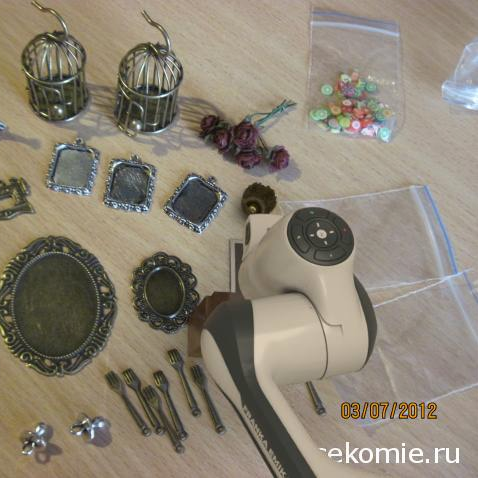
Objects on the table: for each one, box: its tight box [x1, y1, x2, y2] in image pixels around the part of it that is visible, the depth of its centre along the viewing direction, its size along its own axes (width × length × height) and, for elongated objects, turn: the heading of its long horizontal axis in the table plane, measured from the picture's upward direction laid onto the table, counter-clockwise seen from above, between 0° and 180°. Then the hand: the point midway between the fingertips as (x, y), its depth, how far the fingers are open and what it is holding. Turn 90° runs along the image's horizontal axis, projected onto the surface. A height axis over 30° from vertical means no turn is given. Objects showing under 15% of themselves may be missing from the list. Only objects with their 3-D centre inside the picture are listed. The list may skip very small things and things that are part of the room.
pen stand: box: [187, 290, 244, 359], centre depth 102 cm, size 8×8×25 cm
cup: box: [240, 181, 278, 218], centre depth 121 cm, size 8×7×8 cm
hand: (247, 302), depth 83 cm, fingers open, 8 cm apart
